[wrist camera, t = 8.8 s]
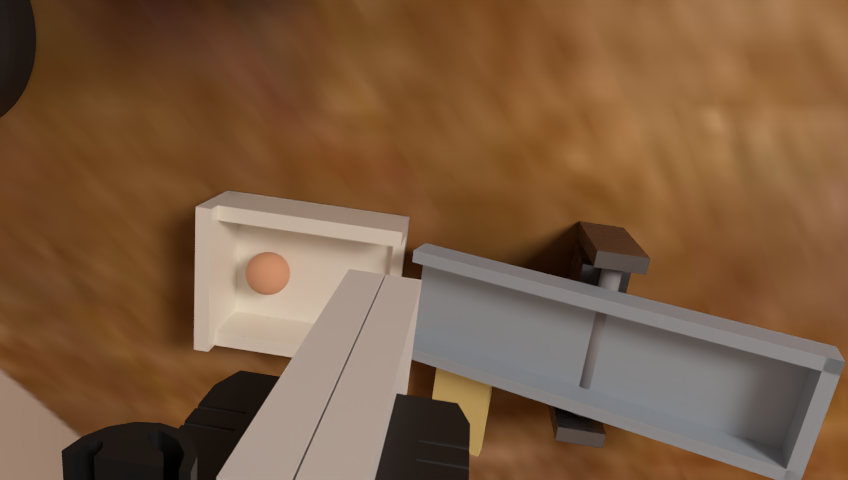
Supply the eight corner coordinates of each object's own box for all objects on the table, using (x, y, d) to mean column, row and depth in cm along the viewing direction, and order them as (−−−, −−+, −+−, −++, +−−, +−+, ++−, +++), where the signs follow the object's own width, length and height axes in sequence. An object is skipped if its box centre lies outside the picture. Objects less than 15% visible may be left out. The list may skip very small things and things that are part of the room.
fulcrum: (544, 386, 44) (555, 440, 38) (579, 221, 40) (597, 250, 34) (584, 392, 44) (602, 448, 38) (623, 227, 40) (650, 258, 34)
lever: (407, 421, 45) (389, 442, 43) (434, 222, 41) (415, 232, 38) (755, 550, 37) (760, 587, 34) (839, 319, 32) (853, 340, 30)
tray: (224, 319, 45) (193, 349, 40) (227, 190, 42) (195, 206, 37) (393, 345, 44) (383, 379, 40) (409, 216, 41) (400, 236, 37)
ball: (241, 300, 40) (287, 303, 41) (243, 259, 39) (289, 262, 40) (247, 283, 43) (290, 286, 44) (249, 244, 42) (292, 247, 43)
